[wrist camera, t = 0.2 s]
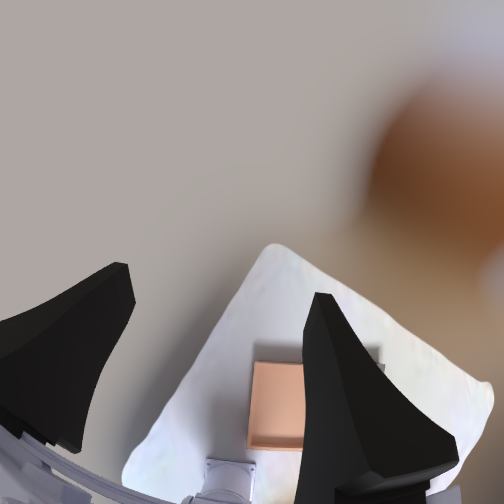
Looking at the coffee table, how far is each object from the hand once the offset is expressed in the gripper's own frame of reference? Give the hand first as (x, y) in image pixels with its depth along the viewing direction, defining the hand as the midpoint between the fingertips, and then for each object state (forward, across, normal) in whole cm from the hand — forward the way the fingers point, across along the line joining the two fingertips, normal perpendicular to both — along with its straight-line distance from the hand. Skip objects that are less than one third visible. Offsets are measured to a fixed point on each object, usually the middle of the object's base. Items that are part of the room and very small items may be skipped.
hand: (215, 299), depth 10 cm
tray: (+12, -8, +31) cm, 34 cm away
